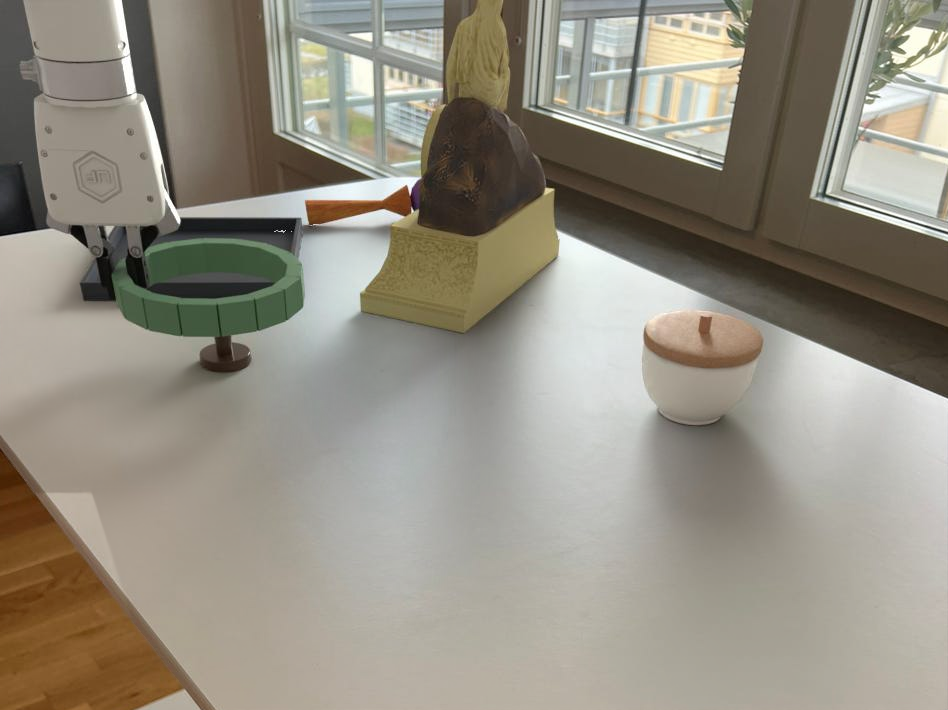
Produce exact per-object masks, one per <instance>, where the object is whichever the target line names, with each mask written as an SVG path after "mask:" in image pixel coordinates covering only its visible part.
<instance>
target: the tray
mask: <svg viewBox="0 0 948 710" xmlns="http://www.w3.org/2000/svg"><path fill="white" fill-rule="evenodd" d="M179 218H180V220H181V224H180V226H179V228H178V230H176V231H174V232H171V233H168V234H166V235H163V236H159V237H157V238H156V239H155V240H154V241H153V242H152V244H151V245H150V246H149V247H152V246H155V245H159V244H163V243H166V242H168V243H169V242H173V241H182V240H191V239H200V238H201V239H202V240H203V238H221V239H236V240H237V239H242V240H248V241H254V242H260V243H266V244H269V245H272V246H275V247H277V248H280V249H283V250H285V251H288V252H290V253H292V254H293V255H294V256H295V257H296V258H297V259H298V256H299V257H300V252H299V249H300V250H301V246H300V243H301V244H302V240H301V236H302V237H303V234H302V231H303V222H302V221H303V220H302V217H281V216H279V217H278V216H277V217H276V216H275V217H274V216H273V217H267V216H266V217H264V216H263V217H255V216H253V217H249V216H248V217H243V216H242V217H241V216H240V217H233V216H232V217H231V216H229V217H228V216H224V217H219V216H217V217H213V216H212V217H211V216H204V217H203V216H199V217H198V216H189V217H188V216H185V217H184V216H179ZM276 230H278V231H281V230H283V231H285V230H286V231H285V232H284V233H283V232H278V231H276ZM274 231H276V232H274ZM291 231H292V232H291ZM107 236H108V240H109V242H110V243H111V247H114V249H116V252H117V257H118V262H119V261H120V260H122V259H124V258H126V257H127V255H128V252H127V249H128V247H129V246H128V239H127V232H126V226H113V227H112V229H111V231H110V233H109V234H108V235H107ZM298 260H299V259H298ZM274 284H275V283H274V282H272V281H269V280H267V279H264V278H262V277H256V276H250V275H244V274H238V273H200V274H192V275H184V276H178V277H175V278H172V279H168V280H165V281H162V282H158V283H155V284H153V285H151V286H150V287H149V288H147V289H146V290H148V291H150V292H152V293H156V294H161V295H167V296H173V297H178V298H195V299H217V298H225V297H232V296H239V295H246V294H249V293H252V292H256V291H259V290H262V289H265V288H268V287H271V286H272V285H274ZM79 286H80V291H81V296H82V299H83V301H111V300H110V299H109V295H108V290H107V288H103V287H102V285H101V281H100V276H99V271H98V266H97V261H96V257H94V259H93V260H92V262H91V264H90V265H89V267H88V268H87V270H86V272H85V273H84V275H83V277H82V278H81V279H80V282H79Z"/></svg>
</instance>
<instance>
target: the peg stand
mask: <svg viewBox="0 0 948 710" xmlns="http://www.w3.org/2000/svg"><path fill="white" fill-rule="evenodd" d="M213 338H214V343H211V344H208V345H207V346H204V347H203V348H201V350H200V351H199V361H200V365H201V366H202V367H203V368H204V369H206V370H209V371H211V372H218V373H228V372H235V371H239V370H242V369H244V368H246V367H248V366H249V365H250V364H251V362H252V354H251V349H250V348H249V347H248V346H247V345H245V344H243V343H240V342H234V341H232V335H230V336H224V337H222V336H221V335H220V337H213Z"/></svg>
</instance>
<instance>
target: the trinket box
mask: <svg viewBox="0 0 948 710" xmlns="http://www.w3.org/2000/svg"><path fill="white" fill-rule="evenodd" d="M642 336H643V337H642V338H643V345H642V352H641V373H642V382H643V385H644V388H645V390H646V391H645V392H646V393H647V395H648V397H649V398H650V400H651V401H652V402H653V404H654V405H655V406H656V407H657V411H658V412H659V414H660V415H661V416H663V417H664V418H665V419H667V420H669V421H672V422H674V423H678V424H682V425H688V426H706V425H710V424H713V423H715V422H717V421H719V420H720V419H721V418H722V417H723V416H724V415H726V414H727V413H729V412H730V411H731V410H733V409H734V408H735V407H736V406H737V405H738V404H739V403H740V402H741V401H742V400H743V398H744V396H745V395H746V393H747V392H748V390H749V388H750V385H751V384H752V381H753V379H754V376H755V373H756V370H757V365H758V363H759V362H758V361H759V356H760V355H761V353H762V350H763V345H764V338H763V335H762V334H761V332H760V331H759V330H758V329H757V328H756V327H755V326H754V325H752V324H750V323H749V322H747V321H745V320H742V319H741V318H738V317H735V316H731V315H728V314H725V313H720V312H714V311H707V310H689V309H688V310H687V309H686V310H674V311H669V312H663V313H661V314H658V315H655V316H654V317H652V318H650V319H649V320H648V321H647V323H646V324H645V325H644V328H643V333H642Z"/></svg>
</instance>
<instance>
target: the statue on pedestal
mask: <svg viewBox="0 0 948 710" xmlns="http://www.w3.org/2000/svg"><path fill="white" fill-rule="evenodd" d="M503 5H504V0H476V6H475V10H474V12H473V13H472V14H471V15H470V16H467V17H466V18H464V19H462V20H461V21H460V22H459V24H458V25H457V27H456V30H455V33H454V36H453V39H452V43H451V45H450V49H449V53H448V56H447V60H446V65H445V82H446V92H447V93H446V94H447V103H446V104H441V105H439V106H438V107H437V108H436V109H435V110H433V112H432V114H431V116H430V117H429V119H428V122H427V124H426V127H425V130H424V133H423V138H422V144H421V150H420V178H422V179H421V181H420V183H419V184H418V199H419V209H418V210H416V211H412V212H411V214H409V215H407V216H406V217H405V216H403V217H402V218H400V219H399V220H397V221H395V222H393V223H391V224H390V225H389V236H390V237H389V239H390V240H389V245H388V251H387V255H386V257H385V259H384V262H383V263H382V266H381V268H380V270H379V271H378V273H377V274H376V275H375V276H374V278H373V279H372V280H371V281H370V282H369V283H368V284H367V285H366V287H365V289H364V290H362V291H360V292H359V301H360V304H359V305H360V311H361V312H364V313H369V314H374V315H377V316H382V317H386V318H391V319H397V320H401V321H405V322H410V323H415V324H419V325H424V326H428V327H429V326H430V327H433V328H438V329H442V330H447V331H452V332H455V333H456V332H457V333H461V334H465V333H466V332H467V331H469V330H470V329H471V328H473V326H475V325H476V324H478V323H479V322H480V321H481V320H482V319H483V318H484V317H486V316H487V315H488V314H490V312H491V311H493V310H494V309H496V307H498V306H499V305H500V304H502V303H503V302H504V301H505V300H506V299H508V298H509V297H510V296H511V295H512V294H513V293H515V292H516V291H517V290H518V289H520V288H521V287H522V286H523V285H524V284H526V283H527V282H529V280H530V279H532V278H533V277H534V276H535V275H536V274H538V273H539V272H540V271H541V270H543V269H544V268H545V267H546V266H547V265H549V264H550V263H551V262H553V261H554V260H555V259H556V258H557V257H558V256H559V251H560V238H559V234H558V232H557V229H556V222H555V212H554V210H555V207H554V206H555V204H554V203H555V191H556V188H550V187H547V181H546V177H545V173H544V168H543V166H542V164H541V161H540V159H539V157H538V156H537V155H536V154H535V153H533V150H532V149H531V146H530V145H529V142H528V140H527V138H526V136H525V134H524V133H523V131H522V129H521V128H520V126H519V125H518V124H517V123H516V122H514V121H512V120H511V119H510V117H509V116H508V115H507V114H506V113H504V111H505V112H506V111H507V106H508V98H509V97H508V96H509V89H510V84H511V70H510V67H509V63H510V49H509V44H508V35H507V29H506V26H505V23H504V21H503V19H502V16H501V13H502V9H503ZM457 84H459V91H458V97H457V96H456V88H457Z"/></svg>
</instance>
